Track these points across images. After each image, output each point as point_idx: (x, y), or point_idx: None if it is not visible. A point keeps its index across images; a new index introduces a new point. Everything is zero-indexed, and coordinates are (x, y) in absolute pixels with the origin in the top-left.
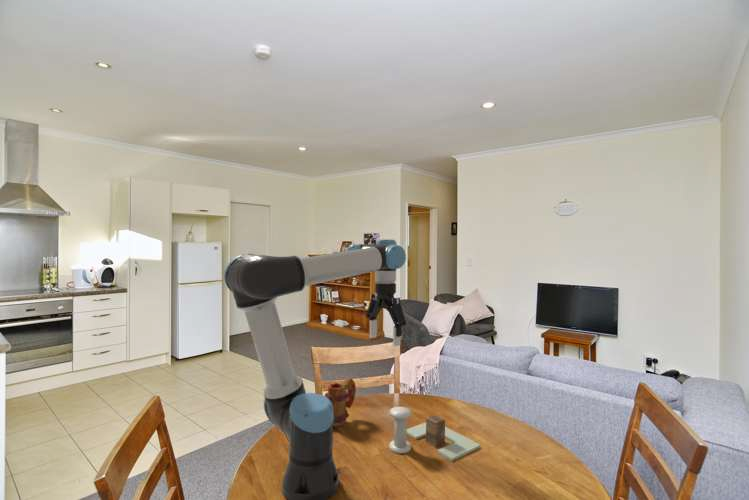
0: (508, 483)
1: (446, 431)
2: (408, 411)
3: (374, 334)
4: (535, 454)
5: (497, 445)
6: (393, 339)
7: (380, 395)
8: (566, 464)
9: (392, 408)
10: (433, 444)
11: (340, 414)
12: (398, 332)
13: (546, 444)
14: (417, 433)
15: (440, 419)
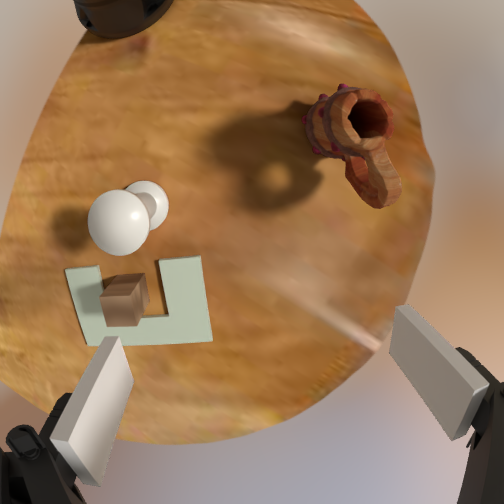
0: (6, 299)
1: (153, 332)
2: (107, 243)
3: (402, 348)
4: (55, 388)
5: None
6: (101, 364)
7: None
8: (31, 393)
9: (144, 211)
10: (121, 276)
11: (315, 125)
12: (48, 417)
13: None
14: (171, 273)
15: (110, 318)
